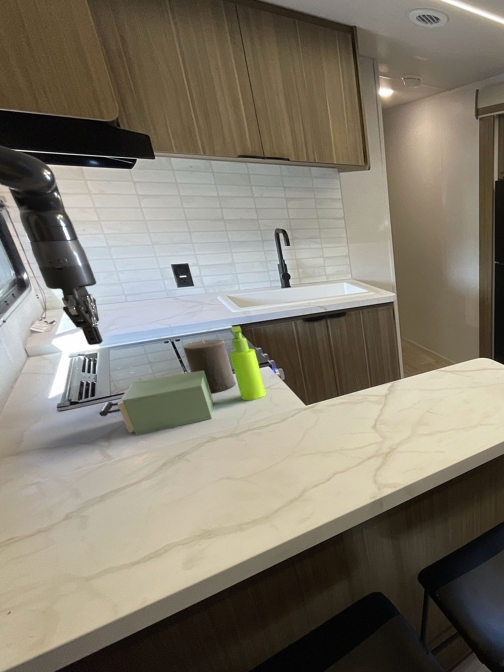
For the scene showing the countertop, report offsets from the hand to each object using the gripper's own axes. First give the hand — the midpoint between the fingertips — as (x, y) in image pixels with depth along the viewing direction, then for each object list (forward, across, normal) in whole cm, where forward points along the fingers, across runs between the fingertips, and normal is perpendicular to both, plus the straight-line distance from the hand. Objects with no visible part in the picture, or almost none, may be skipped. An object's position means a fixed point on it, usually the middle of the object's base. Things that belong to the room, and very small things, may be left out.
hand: (96, 343), depth 89 cm
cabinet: (+21, 0, +10) cm, 23 cm away
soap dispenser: (+21, -3, +26) cm, 34 cm away
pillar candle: (+21, -18, +18) cm, 33 cm away
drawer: (+20, 0, +6) cm, 21 cm away
